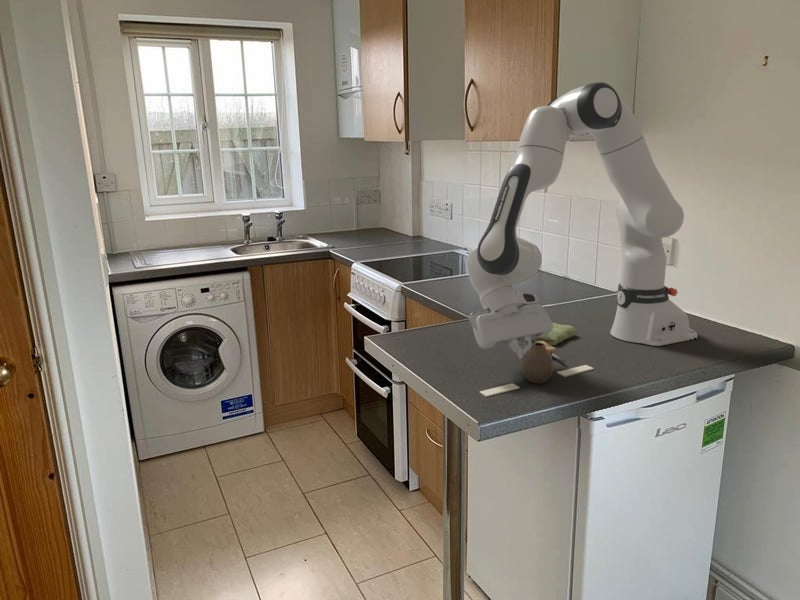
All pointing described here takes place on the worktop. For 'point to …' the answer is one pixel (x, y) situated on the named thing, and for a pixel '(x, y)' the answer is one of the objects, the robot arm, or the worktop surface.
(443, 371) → the worktop surface
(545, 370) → the vase
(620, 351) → the worktop surface
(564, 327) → the washcloth
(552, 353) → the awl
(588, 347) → the worktop surface
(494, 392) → the beige flat strips
